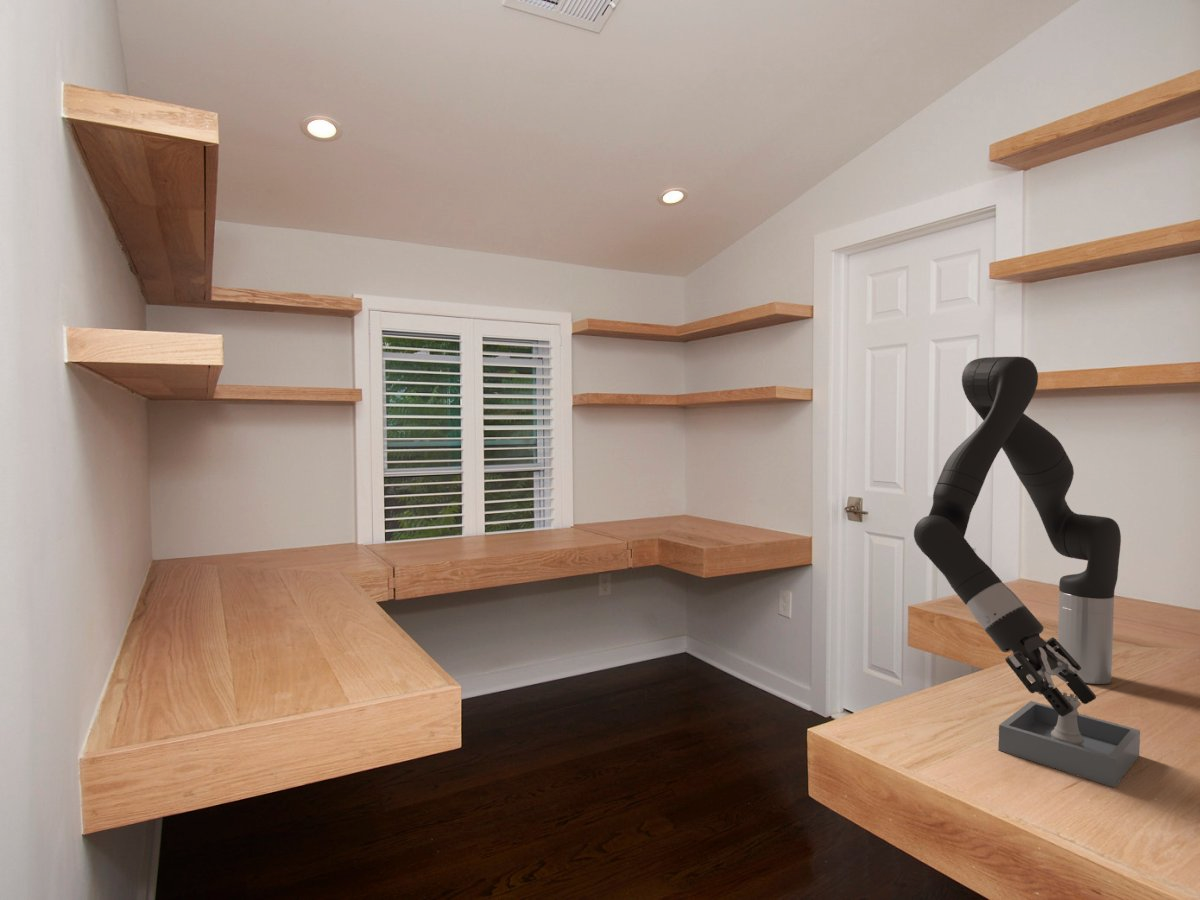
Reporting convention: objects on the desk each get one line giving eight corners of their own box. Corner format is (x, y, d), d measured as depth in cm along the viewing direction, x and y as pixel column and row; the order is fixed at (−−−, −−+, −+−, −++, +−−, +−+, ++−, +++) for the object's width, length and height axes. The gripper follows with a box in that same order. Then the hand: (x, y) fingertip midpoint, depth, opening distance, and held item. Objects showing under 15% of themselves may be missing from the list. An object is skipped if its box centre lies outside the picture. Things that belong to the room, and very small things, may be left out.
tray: (1030, 723, 118) (1030, 700, 118) (1139, 755, 107) (1140, 730, 107) (998, 750, 108) (999, 725, 108) (1115, 788, 97) (1115, 760, 97)
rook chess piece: (1043, 742, 109) (1044, 692, 109) (1062, 738, 111) (1064, 688, 110) (1071, 754, 105) (1073, 702, 105) (1091, 750, 107) (1092, 699, 106)
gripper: (1000, 610, 109) (1081, 706, 100) (1040, 598, 117) (1118, 686, 108) (965, 635, 113) (1040, 729, 105) (1006, 622, 122) (1078, 708, 113)
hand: (1079, 707), depth 106 cm, fingers open, 8 cm apart
